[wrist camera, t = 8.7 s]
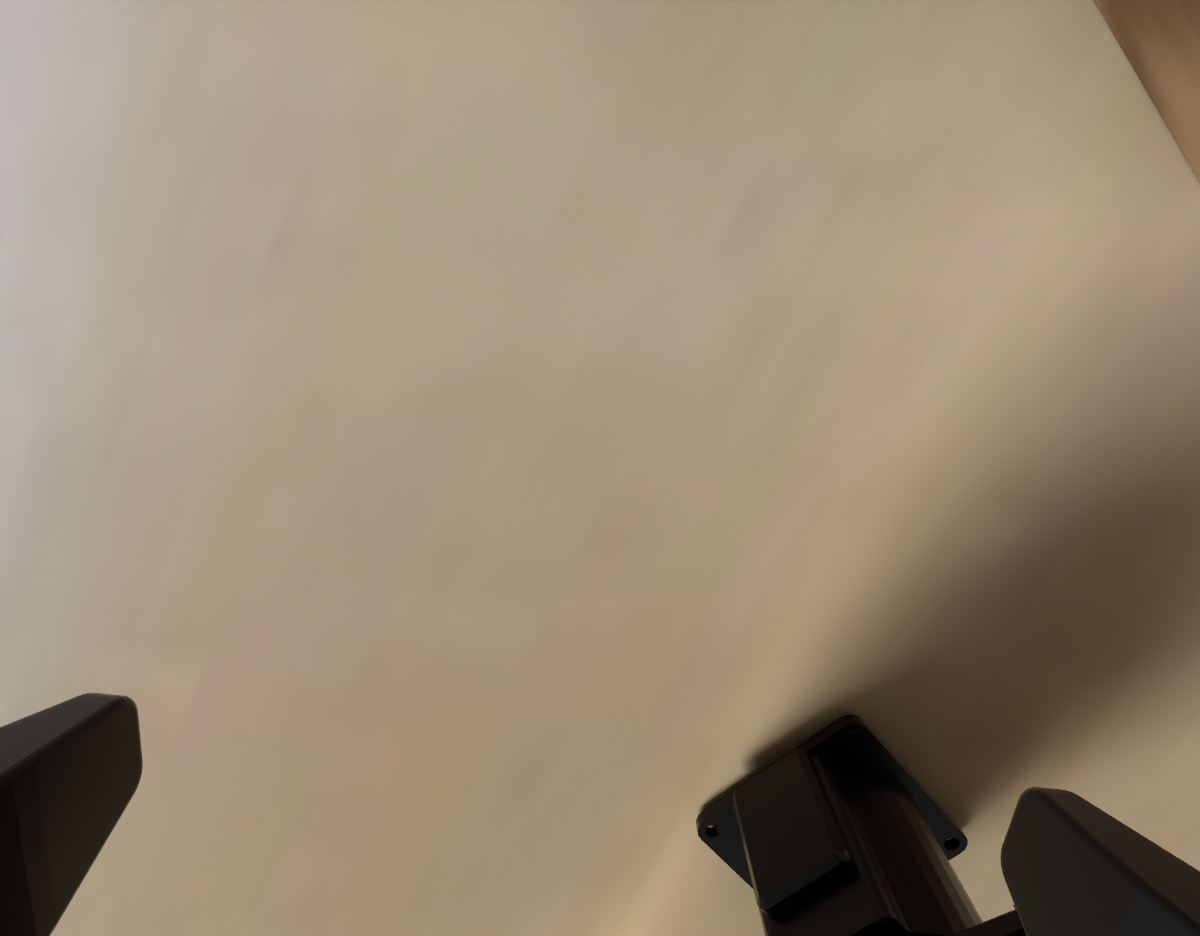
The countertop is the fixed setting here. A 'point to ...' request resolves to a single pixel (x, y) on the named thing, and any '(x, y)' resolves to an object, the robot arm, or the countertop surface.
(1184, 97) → the walnut picture frame
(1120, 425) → the countertop surface
